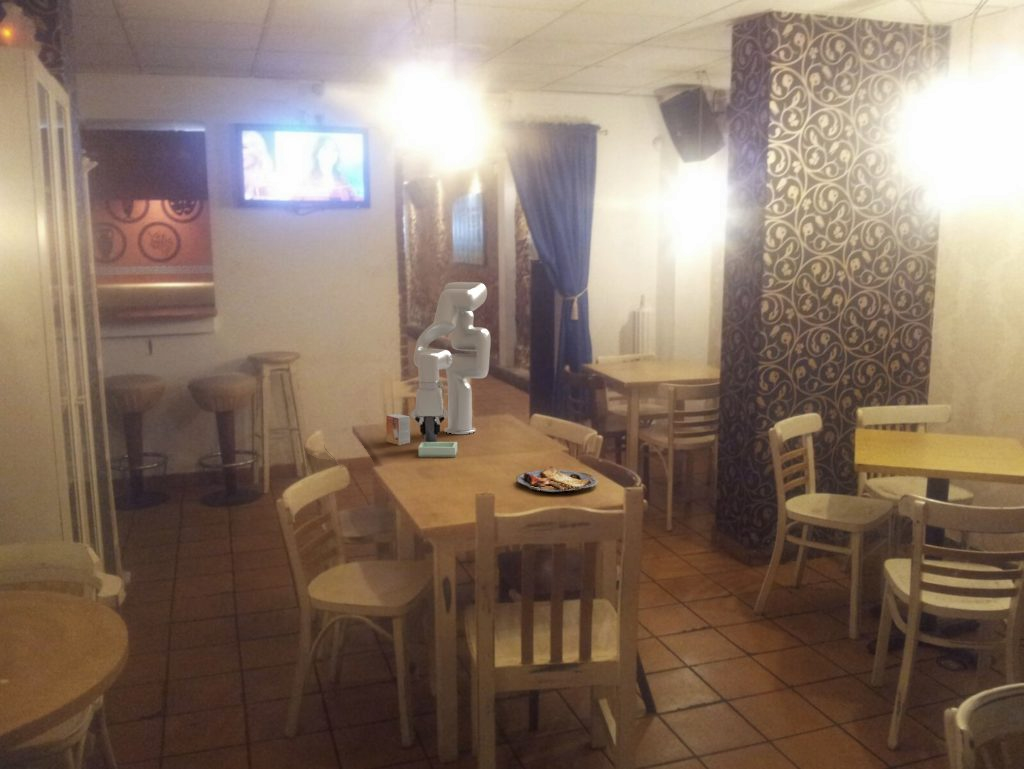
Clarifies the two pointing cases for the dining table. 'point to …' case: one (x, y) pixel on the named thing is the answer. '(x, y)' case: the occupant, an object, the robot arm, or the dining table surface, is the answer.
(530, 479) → the food plate
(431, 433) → the cylinder
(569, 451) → the dining table surface
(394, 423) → the small box
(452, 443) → the trough
